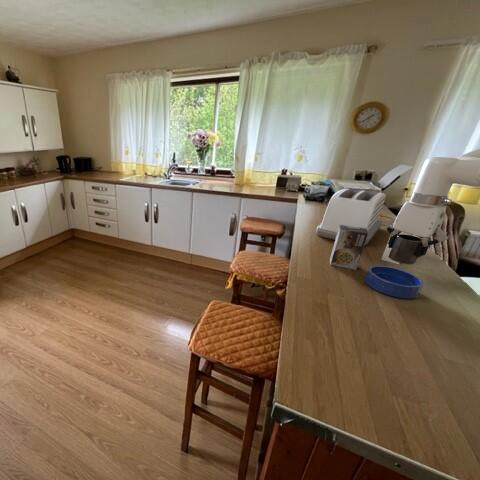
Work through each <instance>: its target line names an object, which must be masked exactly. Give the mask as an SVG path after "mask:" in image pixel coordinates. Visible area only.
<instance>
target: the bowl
mask: <svg viewBox="0 0 480 480" xmlns="http://www.w3.org/2000/svg"><path fill="white" fill-rule="evenodd" d="M364 283H366V284H367V286H369V287H370V288H372V289H373V290H376V291H377V292H380V293H382V294H385V295H388V296H390V297H395V298H399V299H410V300H411V299H416V298H418V297H419V295H420V293H421V291H422V289H423V287H424V284H425V283H424V281H423V280H422V279H421V278H420V277H419V276H417V275H415V274H413V273H411V272H409V271H406V270H403V269H400V268H397V267H392V266H388V265H372V266H369V267H368V269H367V271H366V274H365V276H364Z"/></svg>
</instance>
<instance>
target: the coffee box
mask: <svg viewBox="0 0 480 480" xmlns="http://www.w3.org/2000/svg"><path fill="white" fill-rule="evenodd" d="M367 236H368V232H367V229H366V228H360V227H353V226H345V225H340V226H339V229H338V233H337V236H336V240H334V244H333V246H332V250H331V255H330V258H329V265H330V266H333V267H339V268H344V269H348V270H354V271H357V269H358V265H359V263H360V259H361V257H362V253H363V250H364V248H365V246H366V245H365V242H366V239H367Z"/></svg>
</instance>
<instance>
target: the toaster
mask: <svg viewBox="0 0 480 480" xmlns="http://www.w3.org/2000/svg"><path fill="white" fill-rule="evenodd" d="M386 196H387V194H386V193H385V192H373V191H367V190H363V189H362V190H359V189H358V190H357V189H352V188H342V189H340V190H338V191H336V192H335V193H334V194H333V195H332V196H331V198H330V199H329V202H328V204H327V207H326V209H325V213H324V215H323V217H322V222H321V223H319V225H317V227H316V229H315V233H316V235H317V236H319V237H321V238H325V239H329V240H333V241H335V240H336V236H337V233H338V229H339V226H340V225H345V226H353V227H360V228H366V229H367V232H368V236H367V239H366V242H365V245H364V246H366V245H368V244H369V242H370V241H371V240H372V239H373V238H374V236H375V235H376V233H377V232H378V230H380V228H381V227H382V220H381V219H380V216H381V214H382V211H383V207H384V204H385V200H386Z"/></svg>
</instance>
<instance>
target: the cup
mask: <svg viewBox="0 0 480 480" xmlns="http://www.w3.org/2000/svg"><path fill="white" fill-rule="evenodd" d="M422 244H423V243H422V238H421V237H419V236H415V235H413V236H412V235H406V234H398V235H397V236H396V238H395V241H394V243H393V246H392V248H391V251H390V253H389V256H388V257H389V258H390V259H391V260H393V261H396V262H399V263H400V264H404V265H415V264H416V263H417V260H418V258H419V257H416V256H415V255H416V253H417V251H418V249H419V246H420V245H422Z"/></svg>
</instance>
